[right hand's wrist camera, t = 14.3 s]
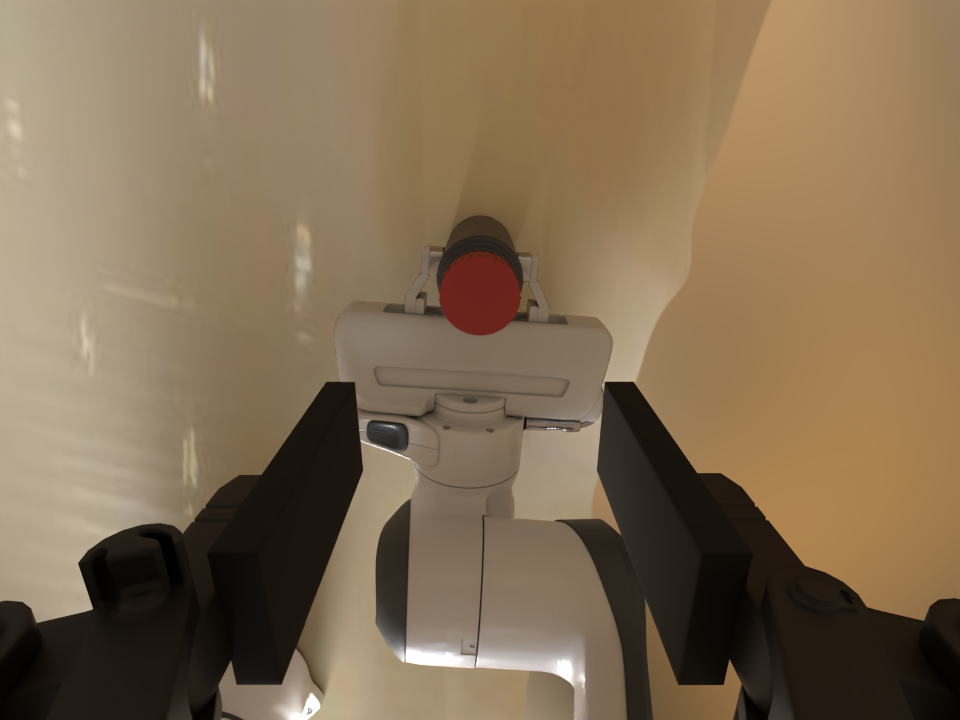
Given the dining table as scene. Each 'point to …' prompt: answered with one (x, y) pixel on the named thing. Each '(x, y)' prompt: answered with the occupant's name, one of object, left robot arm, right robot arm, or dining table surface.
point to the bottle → (480, 244)
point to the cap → (480, 293)
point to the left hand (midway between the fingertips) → (480, 250)
